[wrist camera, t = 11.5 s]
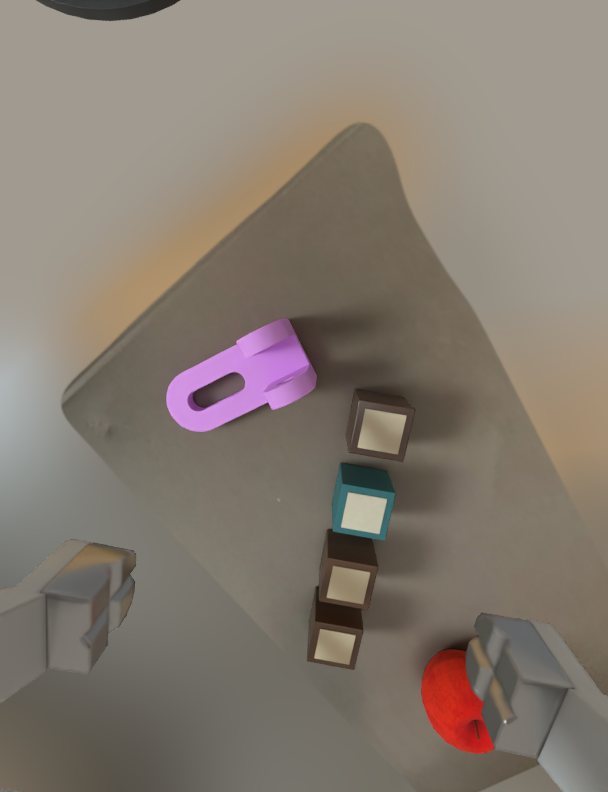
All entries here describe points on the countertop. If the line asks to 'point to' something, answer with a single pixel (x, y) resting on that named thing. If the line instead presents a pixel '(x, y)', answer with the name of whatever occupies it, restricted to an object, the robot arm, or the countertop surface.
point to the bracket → (245, 378)
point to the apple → (454, 703)
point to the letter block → (362, 502)
